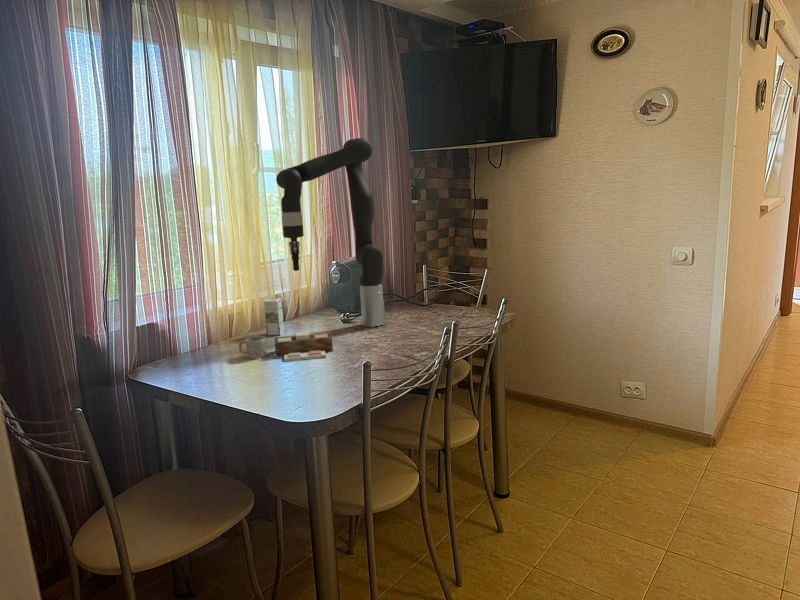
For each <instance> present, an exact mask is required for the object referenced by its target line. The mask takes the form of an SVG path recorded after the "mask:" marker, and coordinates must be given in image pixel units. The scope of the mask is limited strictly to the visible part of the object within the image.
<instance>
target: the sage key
mask: <svg viewBox="0 0 800 600" xmlns="http://www.w3.org/2000/svg"><path fill="white" fill-rule="evenodd" d="M285 341H292V340H291V337H287V338H278V342H285Z"/></svg>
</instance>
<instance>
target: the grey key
mask: <svg viewBox="0 0 800 600" xmlns="http://www.w3.org/2000/svg"><path fill="white" fill-rule="evenodd" d="M310 334H311V333H310V331H308V330H307V331H298V332H295V336H296V340H305V339H310Z"/></svg>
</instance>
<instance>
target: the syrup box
mask: <svg viewBox="0 0 800 600" xmlns="http://www.w3.org/2000/svg"><path fill="white" fill-rule="evenodd" d="M263 306H264V318H265V320H264V321H265V327H266V335H267V336H272V337H273V336H274V337H275V336H276V337H277V336H282V335H283V334H285V327H284V326H285V325H284V324H285V323H284V316H283V314H284V313H283V303H282V297H279V298H278V297H271V298H269V297H268V298H267V297H266V299H264V300H263ZM282 333H283V334H282ZM281 334H282V335H281Z"/></svg>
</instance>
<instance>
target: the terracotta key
mask: <svg viewBox="0 0 800 600" xmlns="http://www.w3.org/2000/svg"><path fill="white" fill-rule="evenodd" d="M326 337H328V334H319V335H314V339H315V338H326Z"/></svg>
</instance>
